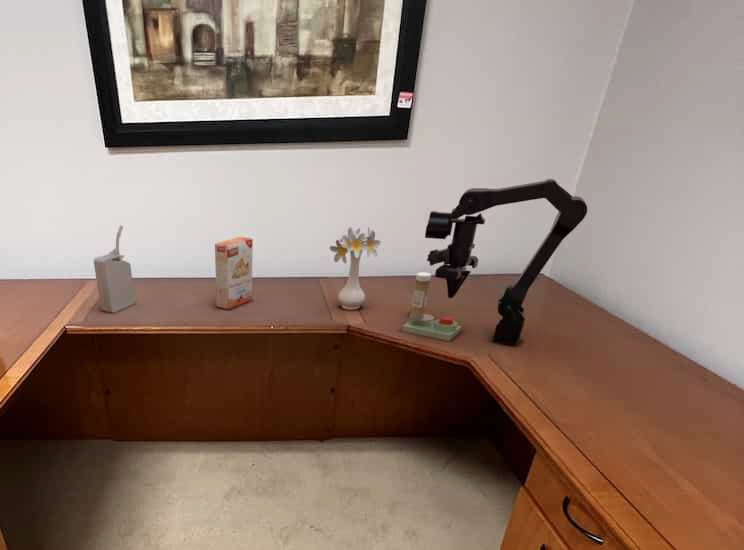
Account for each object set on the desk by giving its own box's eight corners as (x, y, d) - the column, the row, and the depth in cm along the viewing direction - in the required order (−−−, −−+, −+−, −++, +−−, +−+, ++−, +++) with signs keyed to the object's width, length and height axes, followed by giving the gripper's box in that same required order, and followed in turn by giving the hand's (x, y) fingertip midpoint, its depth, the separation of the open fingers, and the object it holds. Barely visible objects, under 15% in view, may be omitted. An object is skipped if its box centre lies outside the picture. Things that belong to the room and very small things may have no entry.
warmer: (460, 331, 172) (463, 320, 170) (449, 341, 166) (451, 329, 164) (414, 322, 180) (416, 311, 178) (401, 331, 173) (403, 319, 171)
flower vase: (320, 311, 190) (326, 231, 175) (346, 298, 201) (354, 222, 187) (354, 318, 183) (363, 236, 168) (379, 304, 195) (389, 226, 180)
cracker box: (229, 310, 192) (227, 245, 179) (215, 307, 195) (213, 243, 182) (253, 300, 201) (253, 237, 188) (240, 297, 204) (239, 235, 191)
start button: (453, 323, 169) (454, 317, 168) (449, 326, 167) (450, 320, 166) (442, 321, 171) (443, 315, 170) (437, 324, 169) (438, 318, 168)
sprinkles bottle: (426, 316, 184) (434, 274, 176) (417, 319, 182) (424, 276, 174) (416, 312, 187) (423, 271, 179) (406, 315, 185) (413, 273, 177)
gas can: (129, 299, 204) (119, 224, 189) (139, 301, 202) (130, 225, 187) (101, 311, 193) (88, 232, 178) (112, 313, 191) (100, 234, 176)
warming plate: (437, 316, 173) (437, 315, 173) (428, 323, 169) (428, 322, 168) (415, 312, 177) (415, 311, 177) (405, 318, 172) (406, 317, 172)
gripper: (446, 231, 165) (436, 285, 174) (422, 243, 153) (412, 300, 162) (484, 235, 160) (471, 291, 169) (462, 248, 148) (450, 307, 157)
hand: (451, 297), depth 164 cm, fingers closed
